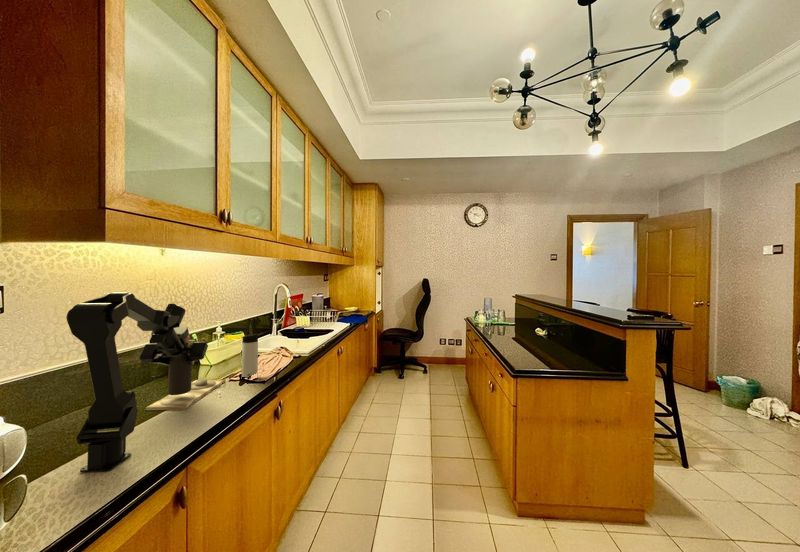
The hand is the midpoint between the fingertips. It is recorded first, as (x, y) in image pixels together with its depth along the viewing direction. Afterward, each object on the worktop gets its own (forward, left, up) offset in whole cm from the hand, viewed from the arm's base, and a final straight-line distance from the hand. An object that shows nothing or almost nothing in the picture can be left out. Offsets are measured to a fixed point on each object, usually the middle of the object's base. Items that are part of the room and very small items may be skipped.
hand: (182, 364), depth 108 cm
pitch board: (+6, +1, -13) cm, 14 cm away
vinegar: (-1, 0, -10) cm, 10 cm away
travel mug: (+23, -14, -13) cm, 30 cm away
